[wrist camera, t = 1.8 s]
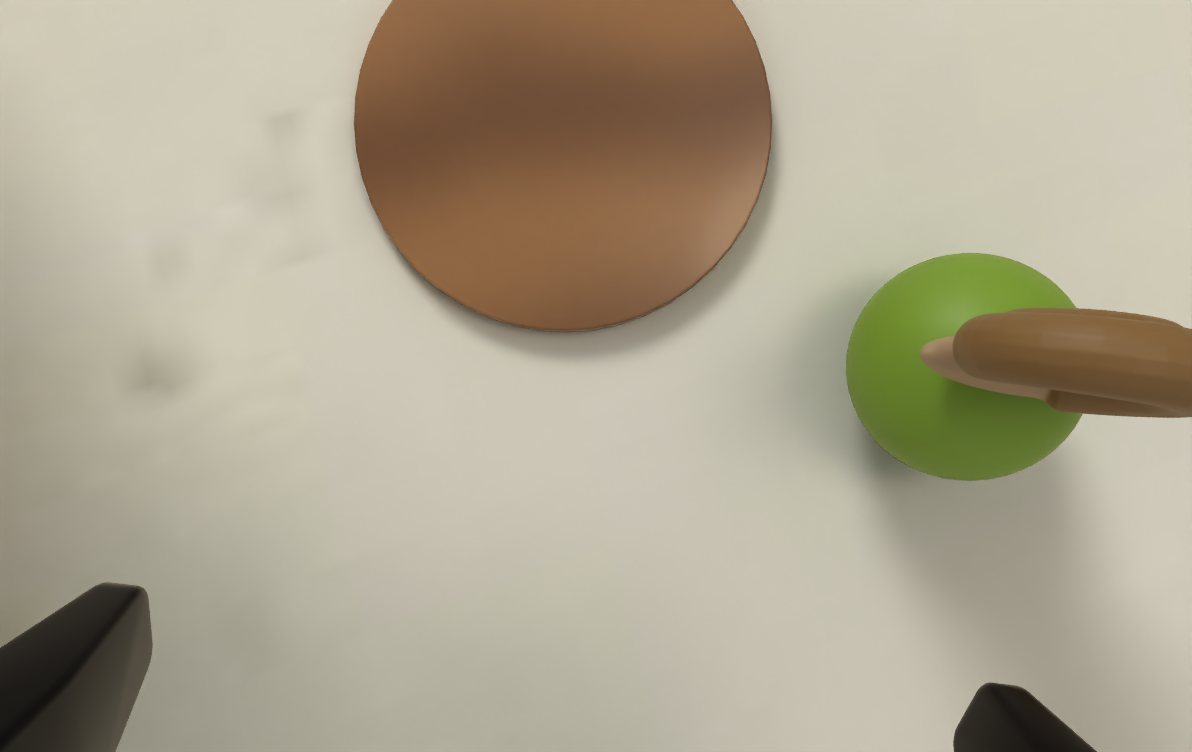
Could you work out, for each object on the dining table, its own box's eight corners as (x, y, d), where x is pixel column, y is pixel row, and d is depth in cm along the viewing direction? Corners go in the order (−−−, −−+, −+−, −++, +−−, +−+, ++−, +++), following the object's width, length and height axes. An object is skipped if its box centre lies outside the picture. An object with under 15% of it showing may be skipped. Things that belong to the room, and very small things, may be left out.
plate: (814, 269, 23) (821, 267, 23) (423, 380, 23) (418, 380, 23) (705, -124, 23) (709, -137, 23) (310, -17, 23) (303, -26, 22)
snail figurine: (1041, 481, 24) (1521, 597, 12) (809, 455, 23) (1050, 546, 11) (1064, 283, 24) (1569, 194, 12) (831, 256, 23) (1097, 138, 11)
